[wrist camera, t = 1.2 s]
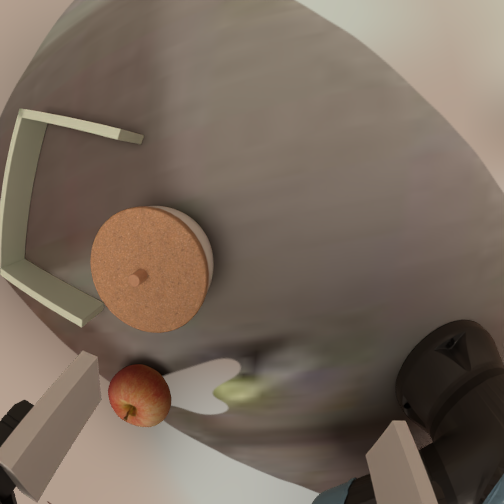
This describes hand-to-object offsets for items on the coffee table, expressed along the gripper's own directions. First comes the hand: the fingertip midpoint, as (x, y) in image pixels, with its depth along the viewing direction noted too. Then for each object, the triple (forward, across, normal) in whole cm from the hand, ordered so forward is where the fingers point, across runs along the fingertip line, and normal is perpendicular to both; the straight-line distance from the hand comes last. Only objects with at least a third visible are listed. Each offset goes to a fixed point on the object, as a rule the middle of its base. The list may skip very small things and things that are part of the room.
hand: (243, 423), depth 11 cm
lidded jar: (+20, +9, +1) cm, 22 cm away
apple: (+20, +10, +19) cm, 29 cm away
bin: (+21, +24, -1) cm, 32 cm away
